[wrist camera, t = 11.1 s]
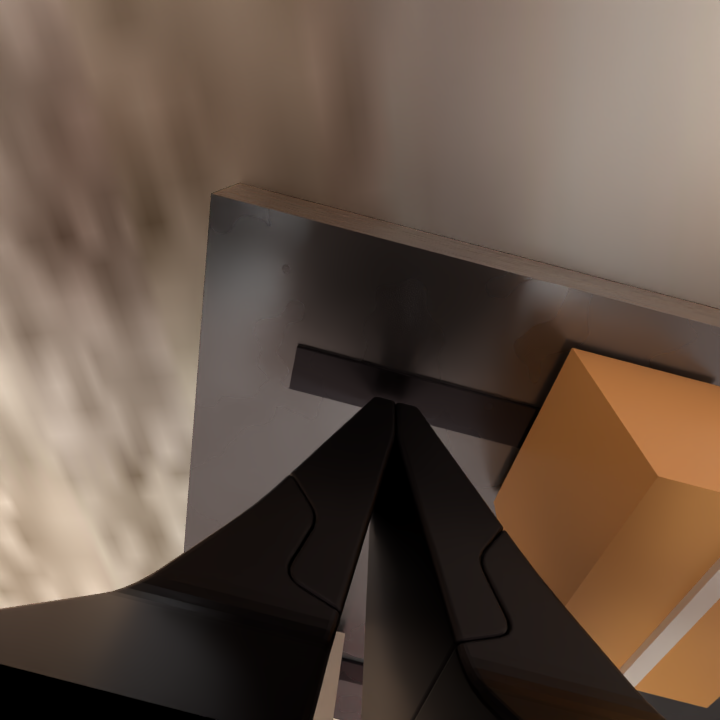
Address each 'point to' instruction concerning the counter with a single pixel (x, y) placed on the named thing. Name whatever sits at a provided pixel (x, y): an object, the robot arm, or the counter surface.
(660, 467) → the fader knob orange
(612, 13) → the counter surface
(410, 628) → the robot arm
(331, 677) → the fader knob cream
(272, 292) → the board
